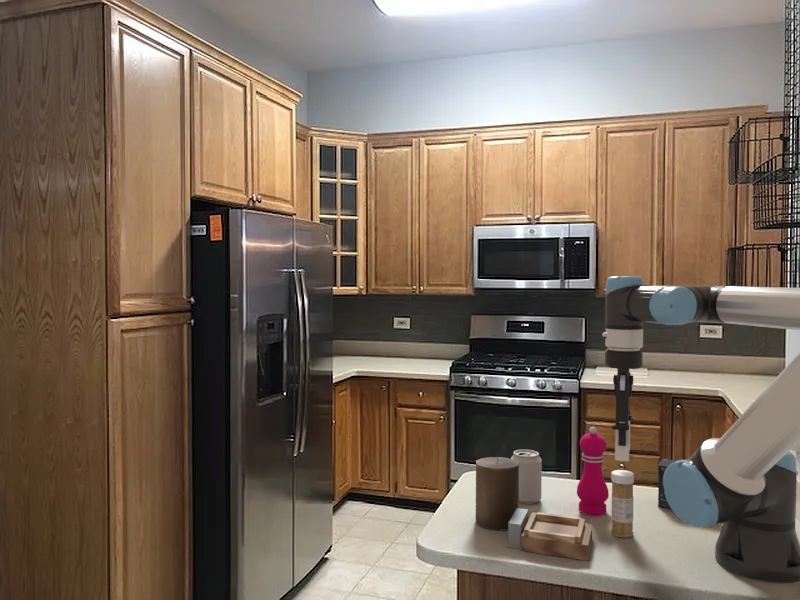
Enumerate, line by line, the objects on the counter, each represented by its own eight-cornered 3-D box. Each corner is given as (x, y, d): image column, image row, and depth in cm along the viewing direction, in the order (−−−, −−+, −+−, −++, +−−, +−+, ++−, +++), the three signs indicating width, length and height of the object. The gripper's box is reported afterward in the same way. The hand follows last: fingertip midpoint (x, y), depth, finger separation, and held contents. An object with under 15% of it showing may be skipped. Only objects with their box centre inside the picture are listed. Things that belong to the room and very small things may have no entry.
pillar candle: (518, 532, 138) (518, 463, 138) (472, 528, 140) (473, 460, 140) (519, 516, 147) (520, 452, 147) (477, 513, 149) (477, 449, 149)
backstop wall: (528, 532, 138) (528, 509, 138) (520, 548, 130) (520, 524, 129) (516, 530, 139) (516, 508, 139) (508, 547, 130) (508, 522, 130)
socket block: (592, 538, 134) (592, 519, 134) (587, 560, 124) (588, 539, 124) (530, 530, 139) (530, 511, 139) (520, 550, 129) (521, 530, 128)
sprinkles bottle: (625, 529, 139) (626, 468, 139) (637, 537, 135) (638, 474, 134) (606, 531, 138) (607, 469, 138) (618, 539, 134) (618, 476, 134)
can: (522, 492, 163) (522, 446, 163) (547, 500, 158) (547, 452, 157) (504, 499, 158) (504, 451, 158) (529, 507, 153) (529, 458, 152)
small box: (657, 508, 152) (657, 464, 152) (661, 499, 158) (661, 457, 158) (705, 516, 147) (706, 471, 147) (708, 507, 153) (708, 464, 152)
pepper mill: (610, 517, 146) (611, 431, 145) (577, 515, 148) (578, 429, 147) (606, 506, 153) (607, 424, 153) (575, 504, 155) (576, 422, 154)
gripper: (607, 343, 146) (607, 441, 147) (602, 353, 127) (601, 466, 128) (642, 344, 144) (641, 444, 144) (642, 354, 124) (641, 470, 125)
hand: (622, 455), depth 136 cm, fingers open, 8 cm apart
